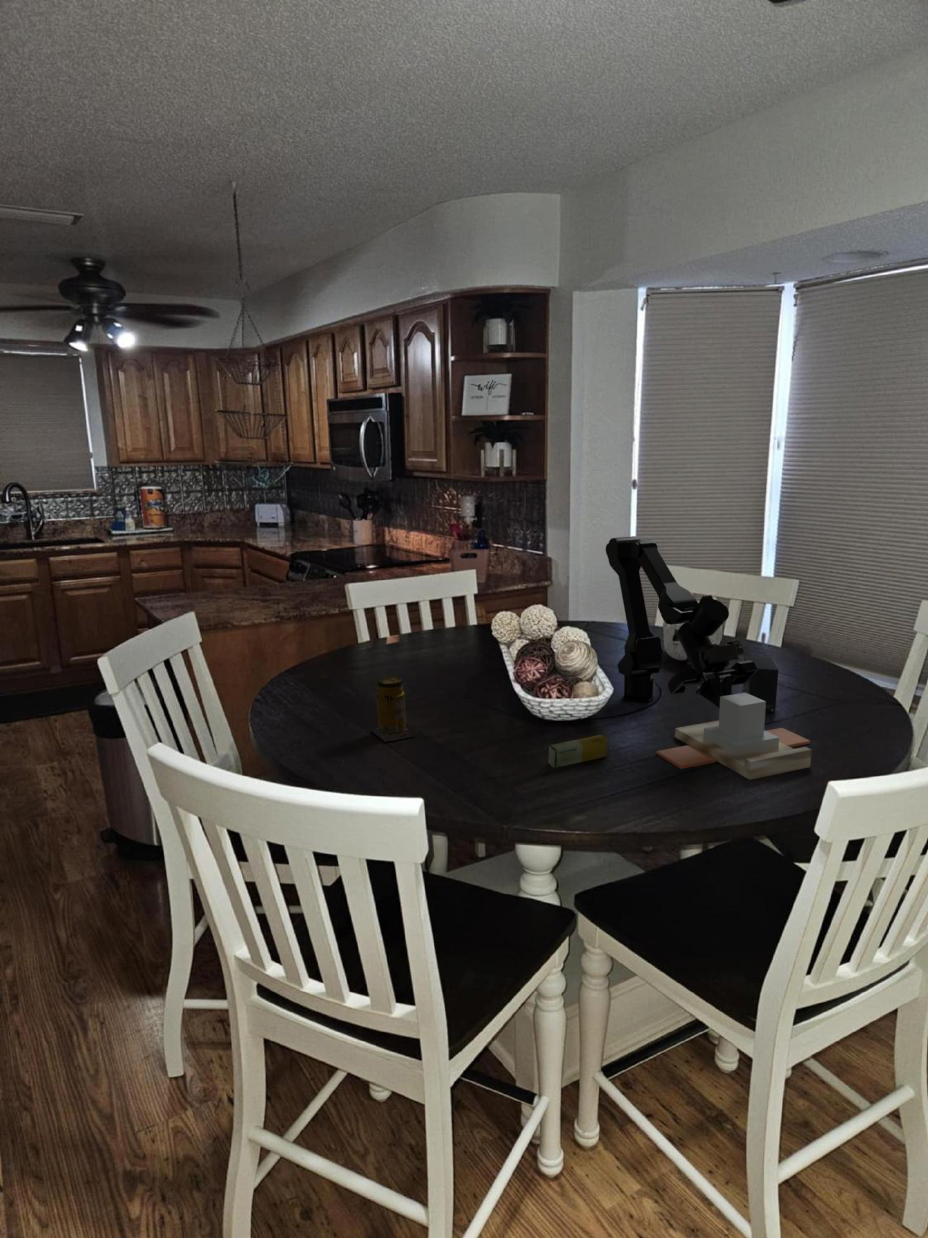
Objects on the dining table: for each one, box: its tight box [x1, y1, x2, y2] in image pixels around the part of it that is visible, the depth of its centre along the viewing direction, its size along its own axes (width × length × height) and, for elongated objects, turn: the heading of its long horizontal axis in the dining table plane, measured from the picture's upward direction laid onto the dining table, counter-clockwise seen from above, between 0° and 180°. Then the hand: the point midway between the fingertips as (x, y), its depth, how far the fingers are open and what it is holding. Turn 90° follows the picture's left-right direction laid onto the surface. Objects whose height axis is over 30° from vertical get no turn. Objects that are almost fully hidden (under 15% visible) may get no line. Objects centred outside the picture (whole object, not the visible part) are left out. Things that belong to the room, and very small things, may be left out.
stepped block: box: [704, 692, 779, 755], centre depth 156 cm, size 10×10×9 cm
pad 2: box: [766, 727, 811, 748], centre depth 162 cm, size 8×8×1 cm
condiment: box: [376, 677, 407, 735], centre depth 170 cm, size 7×8×12 cm
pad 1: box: [656, 744, 717, 770], centre depth 155 cm, size 8×8×1 cm
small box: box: [741, 655, 779, 714], centre depth 182 cm, size 11×6×10 cm, turn 168°
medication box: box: [547, 734, 608, 769], centre depth 155 cm, size 12×3×4 cm, turn 113°
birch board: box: [674, 720, 812, 781], centre depth 157 cm, size 23×14×4 cm, turn 20°
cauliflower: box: [662, 600, 724, 661], centre depth 222 cm, size 20×18×16 cm
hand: (730, 714), depth 158 cm, fingers closed
